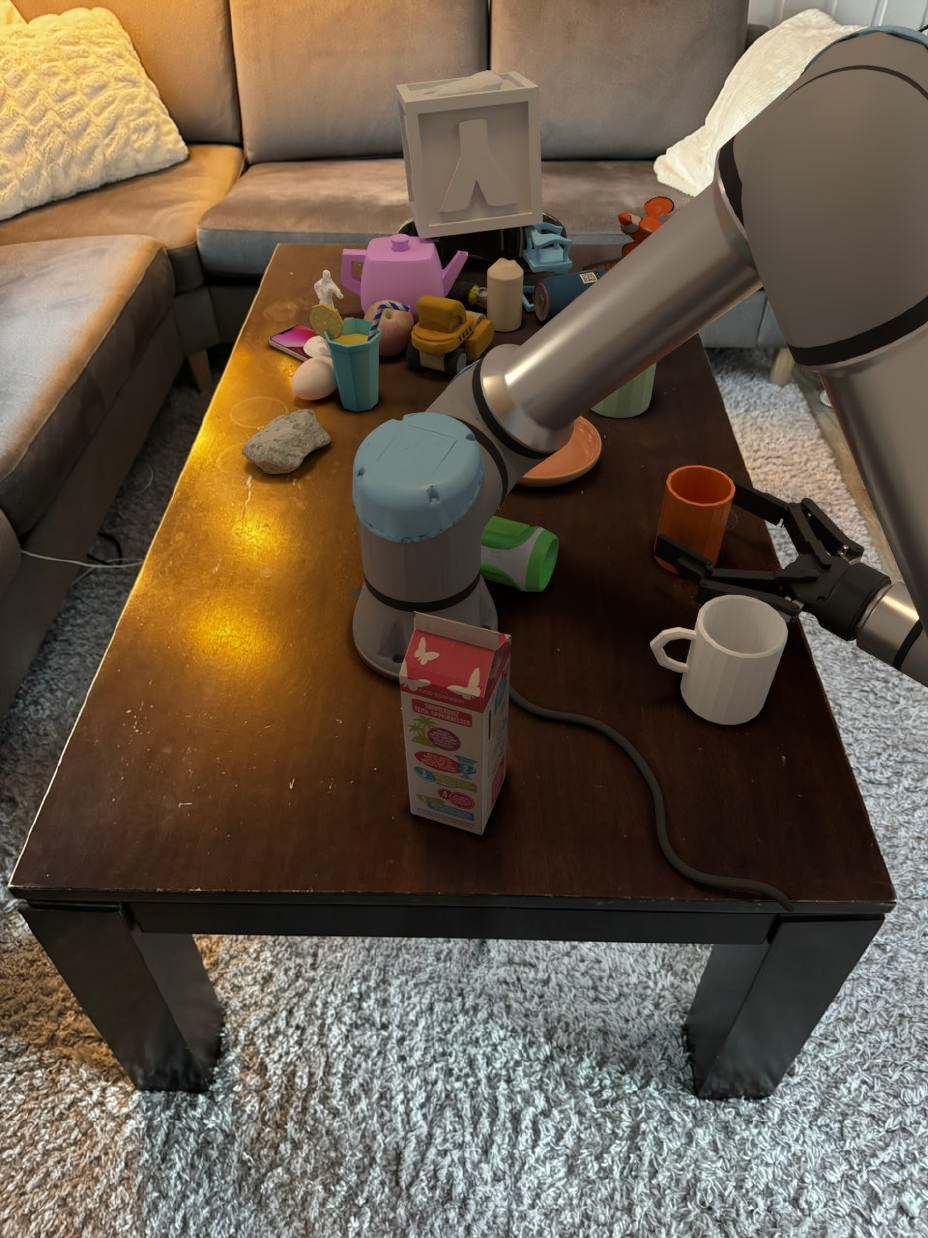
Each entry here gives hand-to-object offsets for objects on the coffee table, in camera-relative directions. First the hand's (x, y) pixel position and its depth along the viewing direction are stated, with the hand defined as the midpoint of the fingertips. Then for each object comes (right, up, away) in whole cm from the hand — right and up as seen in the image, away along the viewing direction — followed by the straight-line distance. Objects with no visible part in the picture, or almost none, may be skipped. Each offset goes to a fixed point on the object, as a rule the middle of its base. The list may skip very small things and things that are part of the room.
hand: (695, 515), depth 100 cm
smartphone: (-42, +26, +34) cm, 60 cm away
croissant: (0, +49, +50) cm, 70 cm away
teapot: (-35, +37, +46) cm, 69 cm away
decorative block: (-24, +54, +47) cm, 75 cm away
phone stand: (-12, +41, +49) cm, 66 cm away
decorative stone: (-49, +10, +19) cm, 53 cm away
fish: (+9, +51, +50) cm, 72 cm away
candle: (-19, +36, +44) cm, 60 cm away
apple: (-36, +30, +39) cm, 61 cm away
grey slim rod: (-44, +35, +43) cm, 71 cm away
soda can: (-2, +41, +44) cm, 60 cm away
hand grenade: (-29, +43, +49) cm, 71 cm away
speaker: (-26, -4, -3) cm, 26 cm away
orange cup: (0, -4, +4) cm, 6 cm away
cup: (-40, +19, +28) cm, 52 cm away
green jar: (-4, +20, +28) cm, 34 cm away
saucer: (-16, +9, +18) cm, 26 cm away
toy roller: (-28, +28, +36) cm, 54 cm away
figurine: (-46, +29, +36) cm, 65 cm away
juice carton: (-26, -27, -18) cm, 42 cm away
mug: (-2, -19, -10) cm, 22 cm away
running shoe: (-23, +52, +52) cm, 77 cm away
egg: (-44, +25, +29) cm, 58 cm away
